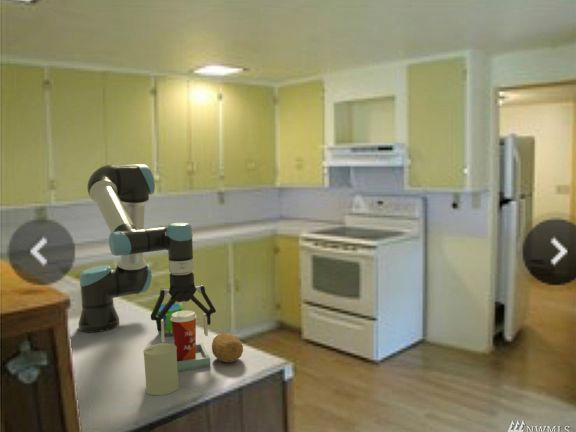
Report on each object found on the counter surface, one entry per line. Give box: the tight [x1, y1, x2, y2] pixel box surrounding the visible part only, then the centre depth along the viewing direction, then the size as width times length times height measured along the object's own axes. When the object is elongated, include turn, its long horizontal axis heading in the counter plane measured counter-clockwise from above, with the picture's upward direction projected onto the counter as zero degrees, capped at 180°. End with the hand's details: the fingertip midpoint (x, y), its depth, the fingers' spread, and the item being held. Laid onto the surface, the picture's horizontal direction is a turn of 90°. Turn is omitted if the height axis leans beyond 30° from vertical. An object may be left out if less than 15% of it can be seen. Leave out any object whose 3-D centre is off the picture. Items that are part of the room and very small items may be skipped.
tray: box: [177, 342, 211, 373], centre depth 163 cm, size 14×13×3 cm
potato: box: [211, 332, 244, 363], centre depth 163 cm, size 10×14×8 cm
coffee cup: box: [170, 310, 197, 361], centre depth 162 cm, size 8×8×15 cm
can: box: [143, 342, 180, 396], centre depth 144 cm, size 9×9×12 cm
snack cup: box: [152, 302, 183, 337], centre depth 190 cm, size 16×10×10 cm
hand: (184, 337), depth 163 cm, fingers open, 13 cm apart
